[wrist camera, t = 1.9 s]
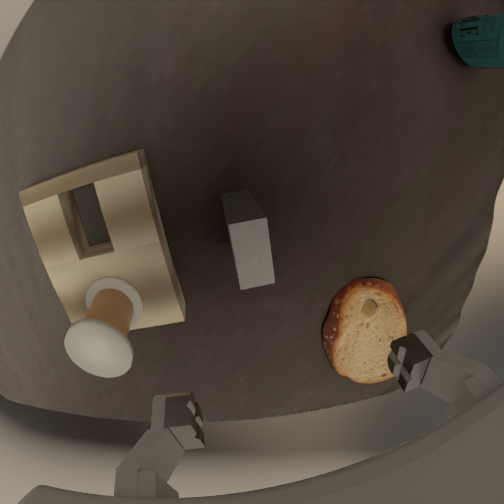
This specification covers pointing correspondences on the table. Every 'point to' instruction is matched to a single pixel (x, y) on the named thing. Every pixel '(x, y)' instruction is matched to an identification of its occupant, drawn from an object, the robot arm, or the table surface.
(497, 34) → the beverage bottle
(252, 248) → the metal tab
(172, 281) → the slot board
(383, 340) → the slice of bread
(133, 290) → the bobbin
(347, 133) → the table surface
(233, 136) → the table surface
